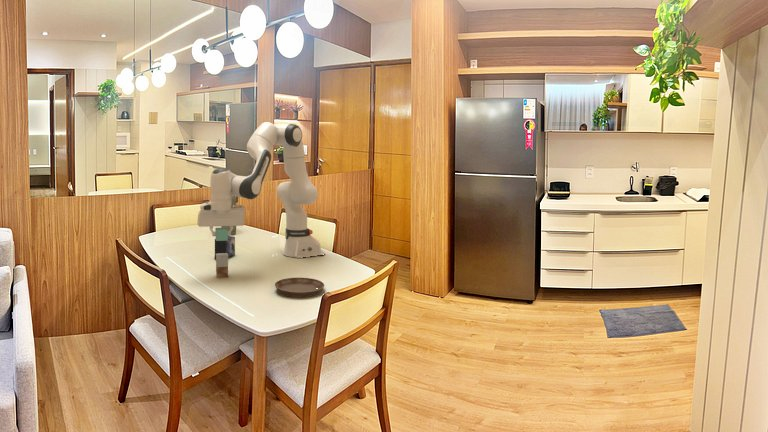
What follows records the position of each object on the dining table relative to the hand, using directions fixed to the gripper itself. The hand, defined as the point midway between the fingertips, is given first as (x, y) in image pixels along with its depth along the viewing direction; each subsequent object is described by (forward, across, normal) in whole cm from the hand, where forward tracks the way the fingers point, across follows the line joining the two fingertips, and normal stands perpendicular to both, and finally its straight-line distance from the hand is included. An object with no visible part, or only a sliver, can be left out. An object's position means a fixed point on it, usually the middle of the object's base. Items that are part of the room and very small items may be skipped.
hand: (221, 235), depth 231 cm
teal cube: (+2, 0, 0) cm, 2 cm away
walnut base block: (+19, 0, 0) cm, 19 cm away
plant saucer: (+19, -30, +29) cm, 46 cm away
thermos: (+19, -8, -92) cm, 94 cm away
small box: (+19, -3, -34) cm, 39 cm away
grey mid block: (+14, 0, 0) cm, 14 cm away
